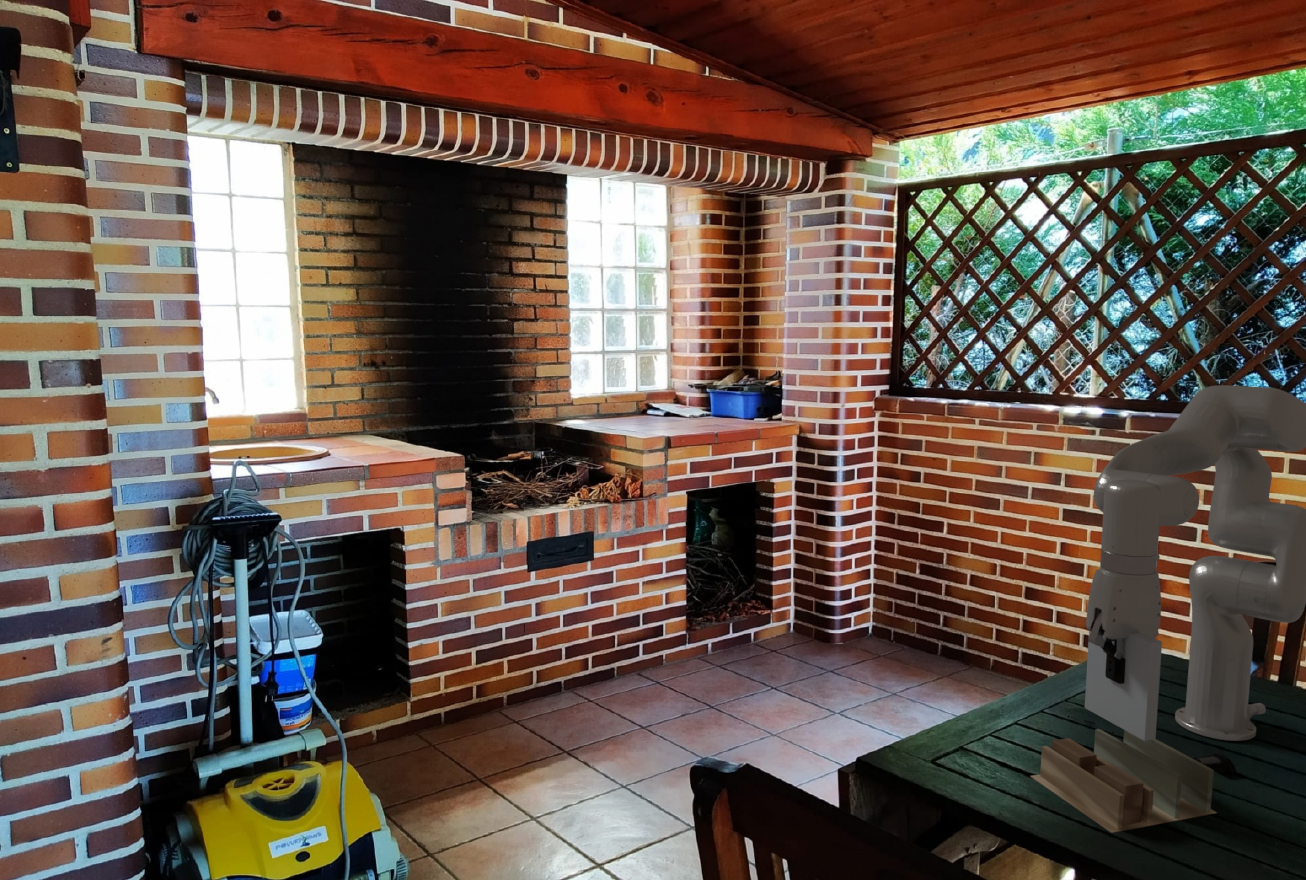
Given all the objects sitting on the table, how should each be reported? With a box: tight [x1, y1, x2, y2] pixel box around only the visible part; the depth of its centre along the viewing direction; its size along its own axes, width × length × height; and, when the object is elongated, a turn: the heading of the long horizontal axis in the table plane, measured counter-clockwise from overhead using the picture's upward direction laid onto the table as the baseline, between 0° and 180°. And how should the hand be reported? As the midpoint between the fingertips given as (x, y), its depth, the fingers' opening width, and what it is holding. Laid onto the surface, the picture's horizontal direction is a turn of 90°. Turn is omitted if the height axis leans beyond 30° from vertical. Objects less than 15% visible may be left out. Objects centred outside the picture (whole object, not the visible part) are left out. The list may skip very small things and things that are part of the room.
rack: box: [1030, 728, 1218, 834], centre depth 138 cm, size 19×17×8 cm
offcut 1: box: [1051, 737, 1097, 776], centre depth 141 cm, size 3×6×6 cm, turn 16°
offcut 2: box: [1094, 764, 1144, 826], centre depth 133 cm, size 3×6×6 cm, turn 16°
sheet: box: [1084, 630, 1163, 741], centre depth 138 cm, size 2×12×15 cm, turn 16°
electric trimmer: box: [1191, 752, 1237, 776], centre depth 148 cm, size 4×16×3 cm, turn 103°
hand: (1121, 678), depth 138 cm, fingers closed on sheet, 1 cm apart
